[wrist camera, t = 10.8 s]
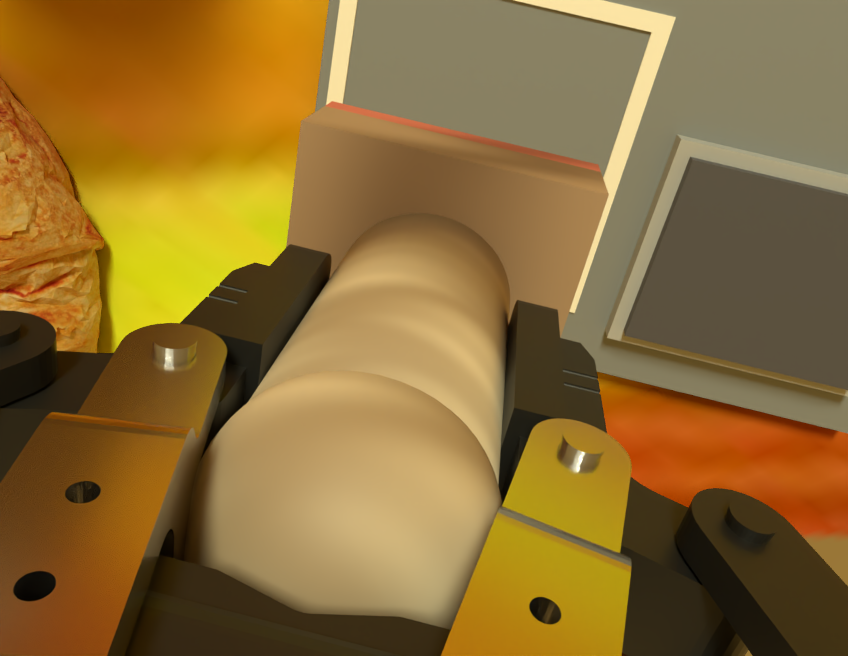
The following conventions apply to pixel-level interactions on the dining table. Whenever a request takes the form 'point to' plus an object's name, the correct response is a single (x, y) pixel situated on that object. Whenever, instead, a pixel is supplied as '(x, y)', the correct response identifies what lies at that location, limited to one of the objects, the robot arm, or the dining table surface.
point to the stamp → (392, 367)
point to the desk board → (657, 168)
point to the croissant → (45, 234)
